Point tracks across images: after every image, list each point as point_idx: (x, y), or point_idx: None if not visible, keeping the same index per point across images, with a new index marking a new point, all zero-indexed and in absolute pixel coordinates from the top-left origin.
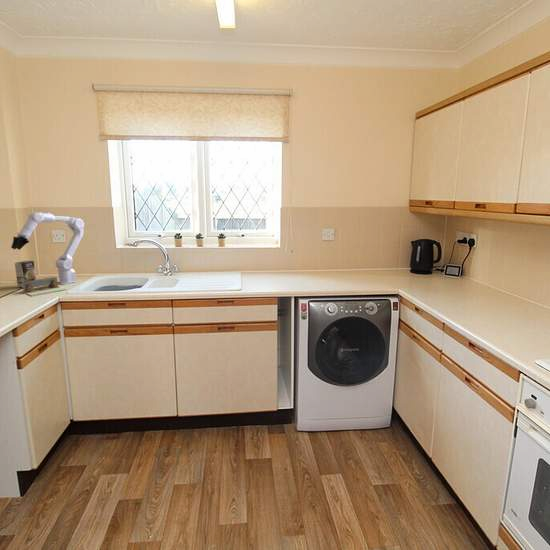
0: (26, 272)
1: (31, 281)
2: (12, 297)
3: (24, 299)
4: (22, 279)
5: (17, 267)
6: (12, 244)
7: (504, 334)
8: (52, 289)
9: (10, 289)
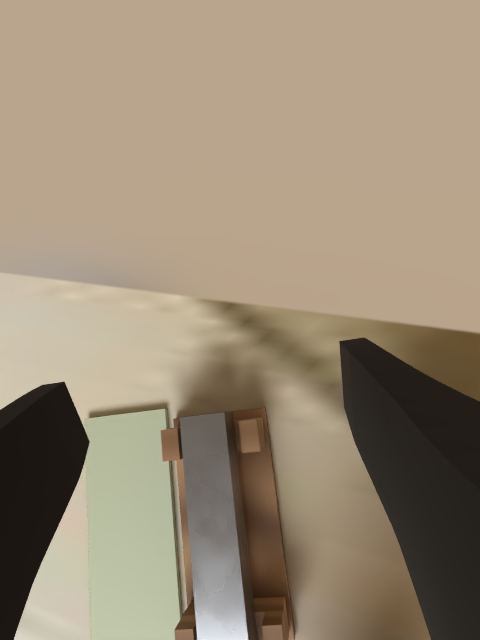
0: None
1: (183, 465)
2: (145, 328)
3: (48, 369)
4: None
5: None
6: (385, 368)
7: None
8: (148, 572)
9: (401, 358)
